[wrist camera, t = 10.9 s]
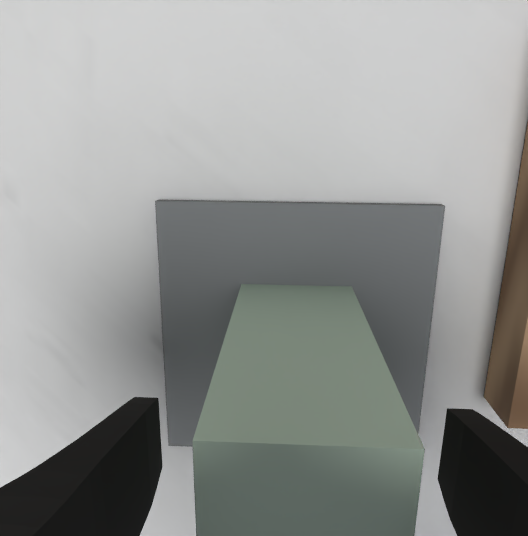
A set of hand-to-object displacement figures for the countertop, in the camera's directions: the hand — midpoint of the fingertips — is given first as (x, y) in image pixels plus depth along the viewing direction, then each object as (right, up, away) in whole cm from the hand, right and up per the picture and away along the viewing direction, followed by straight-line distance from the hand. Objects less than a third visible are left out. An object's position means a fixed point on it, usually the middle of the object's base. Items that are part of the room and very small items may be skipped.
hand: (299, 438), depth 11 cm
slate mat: (0, +2, +6) cm, 6 cm away
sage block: (0, +2, +6) cm, 6 cm away
